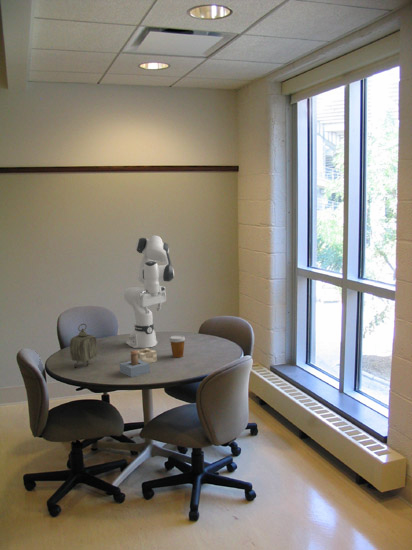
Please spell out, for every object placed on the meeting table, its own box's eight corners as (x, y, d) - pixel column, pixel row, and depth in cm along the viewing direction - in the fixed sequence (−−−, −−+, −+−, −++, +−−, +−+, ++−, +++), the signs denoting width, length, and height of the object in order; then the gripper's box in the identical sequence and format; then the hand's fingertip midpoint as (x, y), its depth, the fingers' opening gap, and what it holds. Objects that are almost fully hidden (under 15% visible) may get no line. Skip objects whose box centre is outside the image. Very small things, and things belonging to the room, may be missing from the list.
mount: (133, 361, 337) (132, 351, 336) (147, 357, 343) (147, 348, 342) (142, 364, 329) (142, 354, 328) (156, 361, 335) (156, 351, 335)
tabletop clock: (87, 361, 340) (84, 320, 336) (99, 362, 335) (96, 321, 332) (71, 368, 327) (68, 326, 323) (83, 370, 323) (80, 327, 319)
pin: (130, 372, 315) (129, 351, 314) (136, 370, 318) (134, 350, 316) (134, 373, 313) (133, 353, 311) (140, 372, 315) (139, 351, 314)
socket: (120, 372, 316) (119, 363, 316) (138, 367, 324) (137, 359, 323) (131, 377, 307) (131, 368, 306) (149, 372, 315) (149, 363, 314)
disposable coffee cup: (183, 358, 338) (183, 339, 337) (168, 358, 340) (167, 338, 339) (187, 354, 348) (186, 335, 346) (172, 353, 350) (171, 335, 348)
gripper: (143, 292, 322) (144, 316, 324) (167, 287, 338) (168, 309, 340) (135, 291, 326) (136, 314, 328) (160, 286, 342) (160, 308, 344)
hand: (153, 312), depth 334 cm, fingers open, 8 cm apart
